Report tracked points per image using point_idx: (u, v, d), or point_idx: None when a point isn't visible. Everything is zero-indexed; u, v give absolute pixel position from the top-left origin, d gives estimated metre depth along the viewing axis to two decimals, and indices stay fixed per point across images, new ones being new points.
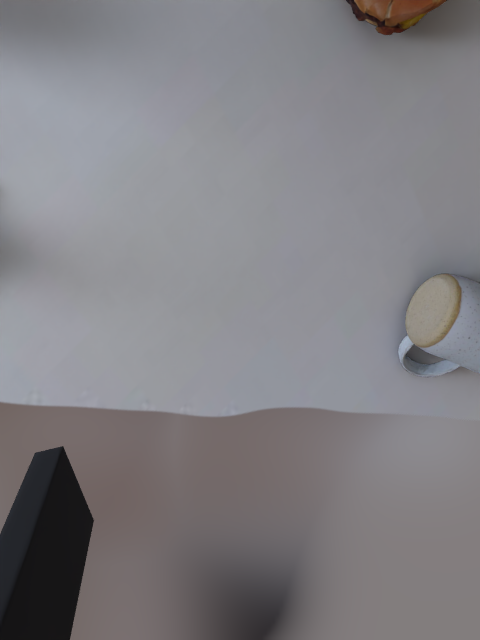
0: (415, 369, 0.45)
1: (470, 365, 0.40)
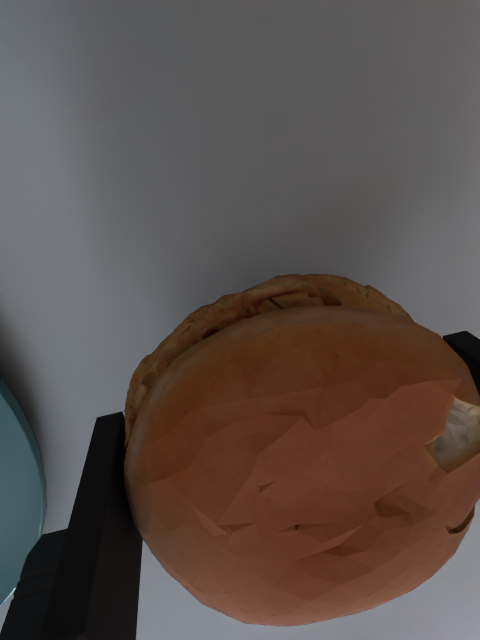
0: None
1: None
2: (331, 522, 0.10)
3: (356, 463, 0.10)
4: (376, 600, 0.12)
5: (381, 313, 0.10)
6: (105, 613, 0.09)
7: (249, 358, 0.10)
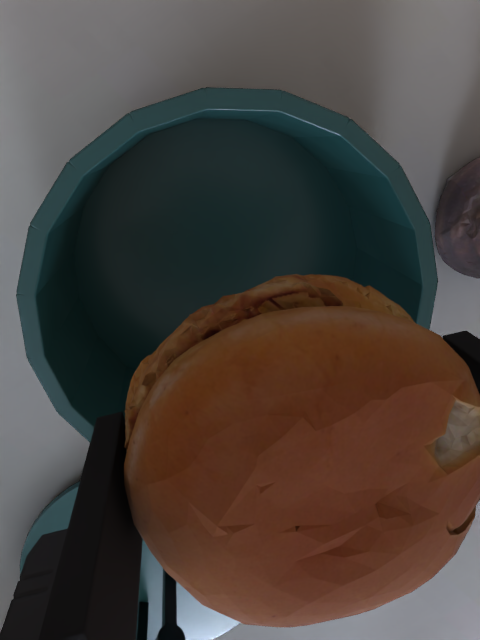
0: None
1: None
2: (332, 523, 0.10)
3: (357, 463, 0.10)
4: (377, 601, 0.12)
5: (382, 313, 0.10)
6: (106, 613, 0.09)
7: (249, 358, 0.10)
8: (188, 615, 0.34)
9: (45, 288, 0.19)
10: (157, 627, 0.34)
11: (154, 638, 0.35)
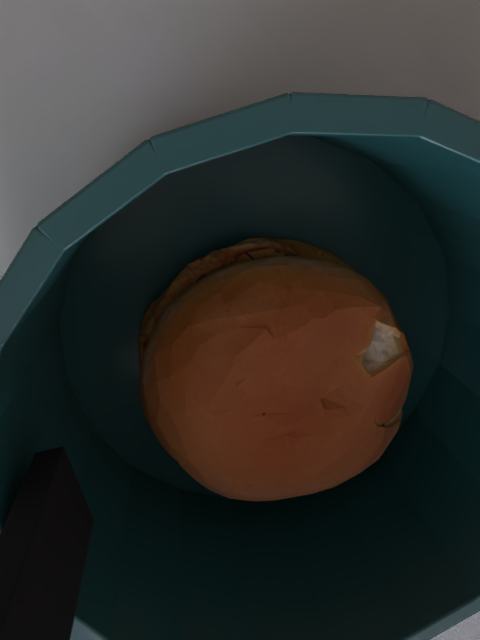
0: None
1: None
2: (288, 411, 0.15)
3: (305, 366, 0.14)
4: (325, 478, 0.16)
5: (324, 261, 0.14)
6: None
7: (229, 289, 0.14)
8: None
9: (5, 416, 0.12)
10: None
11: None
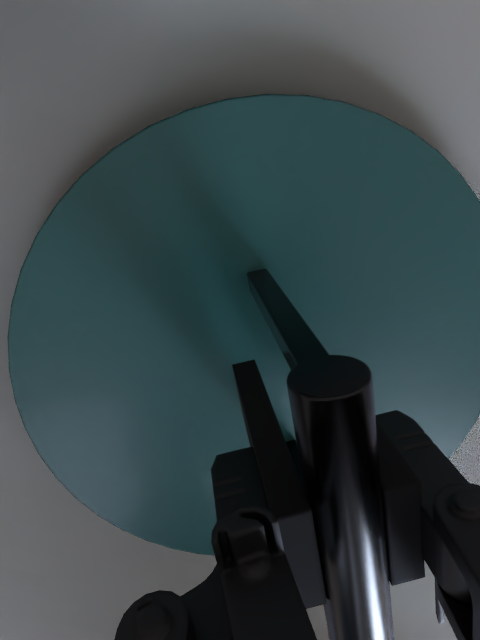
0: None
1: None
2: None
3: None
4: None
5: None
6: None
7: None
8: None
9: None
10: None
11: None
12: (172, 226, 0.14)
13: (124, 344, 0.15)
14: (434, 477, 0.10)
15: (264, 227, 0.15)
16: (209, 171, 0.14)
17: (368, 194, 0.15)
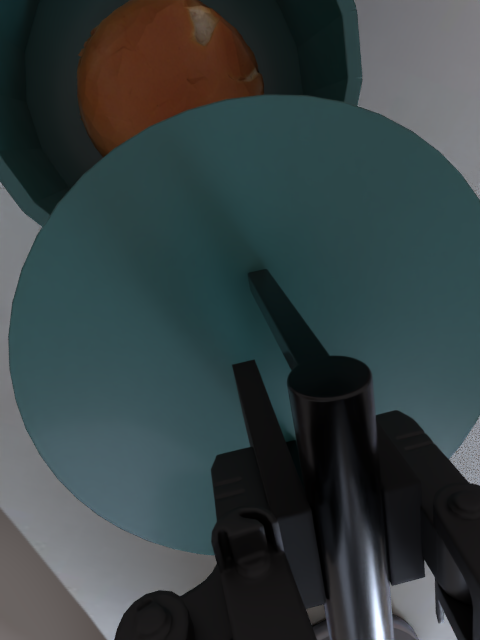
0: None
1: None
2: (172, 97, 0.23)
3: (162, 61, 0.22)
4: None
5: None
6: None
7: (95, 41, 0.22)
8: None
9: (10, 153, 0.21)
10: None
11: None
12: (173, 226, 0.14)
13: (125, 344, 0.15)
14: (434, 477, 0.10)
15: (265, 227, 0.15)
16: (209, 171, 0.14)
17: (369, 194, 0.15)
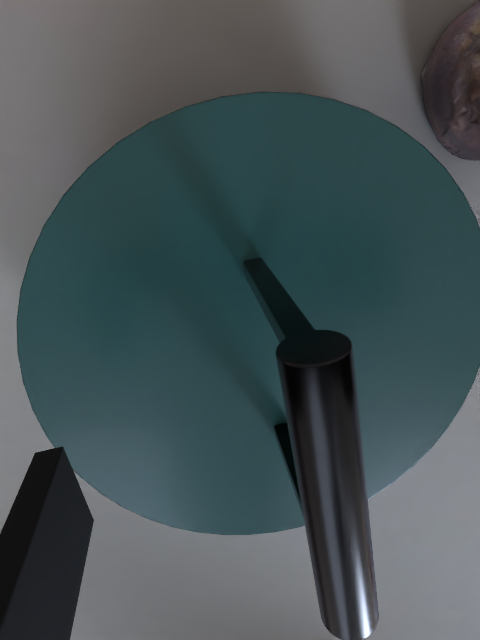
0: None
1: None
2: None
3: None
4: None
5: None
6: None
7: None
8: (368, 421, 0.19)
9: None
10: None
11: None
12: (172, 216, 0.15)
13: (126, 329, 0.16)
14: None
15: (259, 218, 0.15)
16: (206, 164, 0.15)
17: (357, 187, 0.16)
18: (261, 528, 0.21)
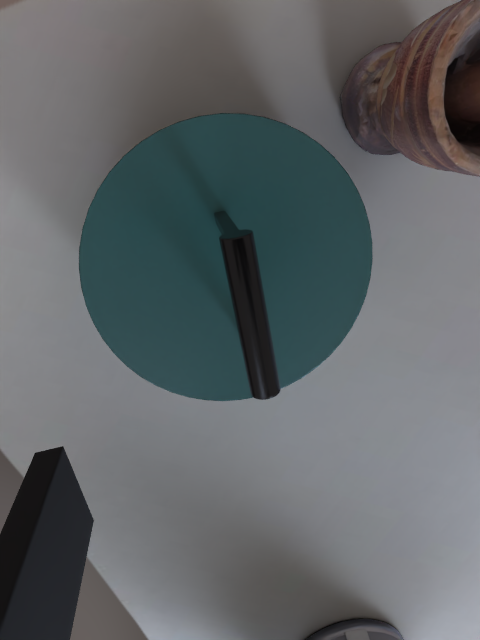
0: None
1: None
2: None
3: None
4: None
5: None
6: None
7: None
8: (297, 321, 0.30)
9: None
10: None
11: (276, 364, 0.31)
12: (171, 185, 0.26)
13: (144, 254, 0.27)
14: None
15: (223, 186, 0.26)
16: (191, 154, 0.25)
17: (281, 168, 0.26)
18: (230, 396, 0.31)
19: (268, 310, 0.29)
